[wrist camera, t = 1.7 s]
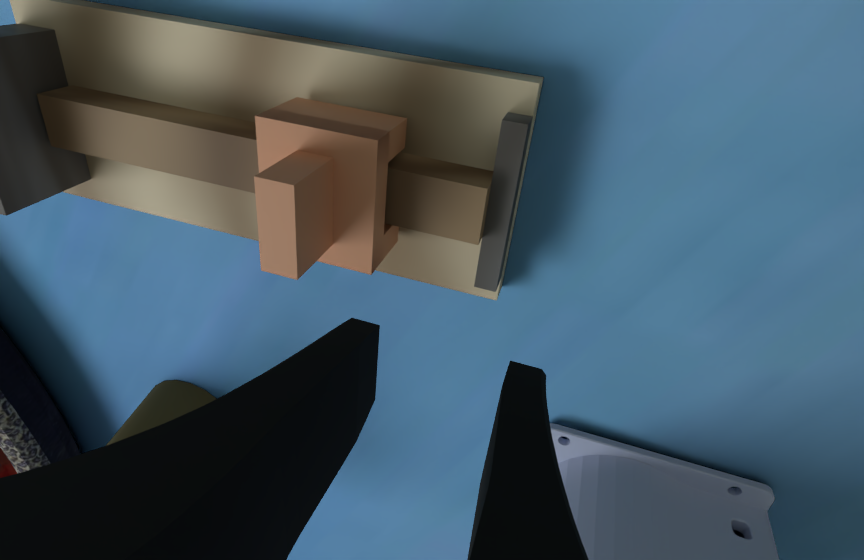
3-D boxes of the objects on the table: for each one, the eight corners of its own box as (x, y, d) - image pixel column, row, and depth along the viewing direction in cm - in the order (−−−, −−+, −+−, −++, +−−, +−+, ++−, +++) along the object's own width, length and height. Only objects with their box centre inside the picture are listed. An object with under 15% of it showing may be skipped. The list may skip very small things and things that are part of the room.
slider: (407, 118, 18) (342, 166, 14) (397, 241, 21) (340, 313, 17) (296, 96, 19) (205, 137, 15) (300, 217, 21) (222, 281, 17)
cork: (159, 361, 31) (-38, 533, 22) (252, 419, 31) (95, 613, 22) (143, 422, 34) (-33, 591, 25) (227, 473, 34) (82, 661, 25)
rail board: (543, 77, 18) (517, 116, 13) (501, 287, 22) (472, 365, 18) (31, -9, 21) (-110, 1, 17) (81, 184, 26) (-23, 228, 22)
